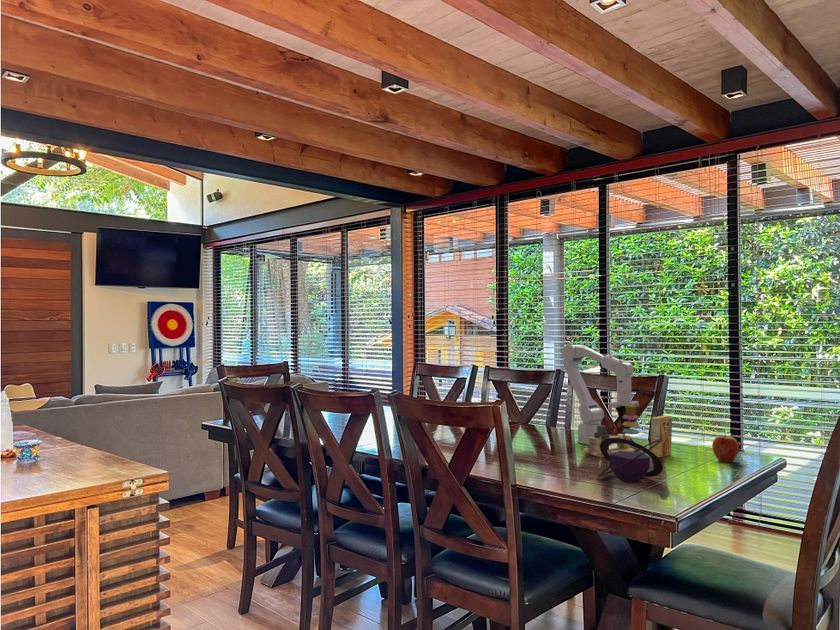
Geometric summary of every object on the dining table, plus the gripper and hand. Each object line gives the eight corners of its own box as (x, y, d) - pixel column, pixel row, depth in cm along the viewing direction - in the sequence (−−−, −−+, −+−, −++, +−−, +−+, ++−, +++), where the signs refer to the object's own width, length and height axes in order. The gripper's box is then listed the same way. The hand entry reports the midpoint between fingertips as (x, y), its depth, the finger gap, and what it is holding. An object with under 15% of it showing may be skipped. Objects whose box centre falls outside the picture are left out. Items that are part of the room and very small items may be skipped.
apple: (711, 462, 236) (711, 435, 236) (712, 457, 244) (712, 432, 244) (738, 465, 232) (738, 438, 232) (738, 460, 240) (738, 434, 240)
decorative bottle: (677, 481, 206) (677, 406, 206) (647, 493, 191) (648, 412, 192) (614, 469, 222) (615, 399, 222) (583, 480, 207) (583, 404, 208)
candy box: (662, 453, 251) (662, 415, 251) (672, 455, 248) (672, 416, 248) (650, 456, 246) (650, 417, 246) (660, 458, 242) (660, 418, 243)
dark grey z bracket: (594, 447, 251) (594, 425, 251) (598, 447, 252) (598, 424, 252) (605, 450, 246) (605, 427, 246) (608, 449, 247) (609, 427, 247)
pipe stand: (583, 452, 251) (583, 436, 251) (616, 448, 260) (616, 432, 260) (601, 457, 242) (601, 440, 243) (634, 453, 251) (634, 436, 251)
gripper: (618, 393, 251) (618, 426, 251) (644, 391, 258) (644, 424, 258) (605, 391, 258) (605, 424, 258) (631, 390, 264) (631, 422, 264)
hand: (624, 424), depth 258 cm, fingers closed
